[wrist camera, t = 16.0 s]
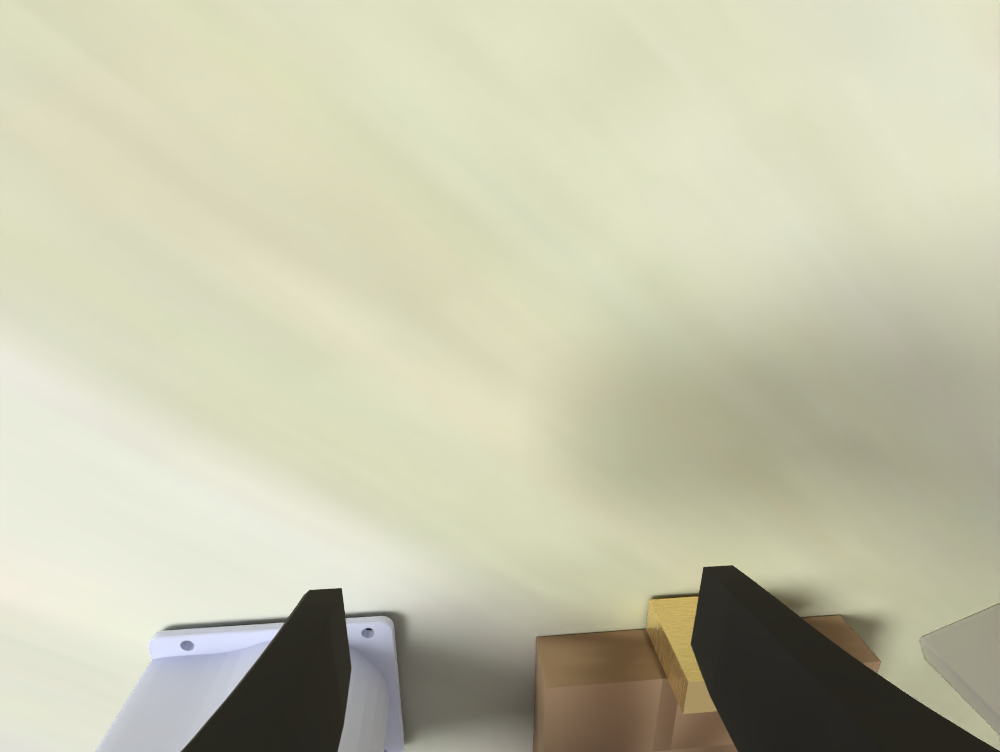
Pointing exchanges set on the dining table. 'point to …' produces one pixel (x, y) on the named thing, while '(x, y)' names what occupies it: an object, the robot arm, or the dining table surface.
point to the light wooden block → (678, 651)
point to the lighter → (970, 660)
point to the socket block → (632, 694)
